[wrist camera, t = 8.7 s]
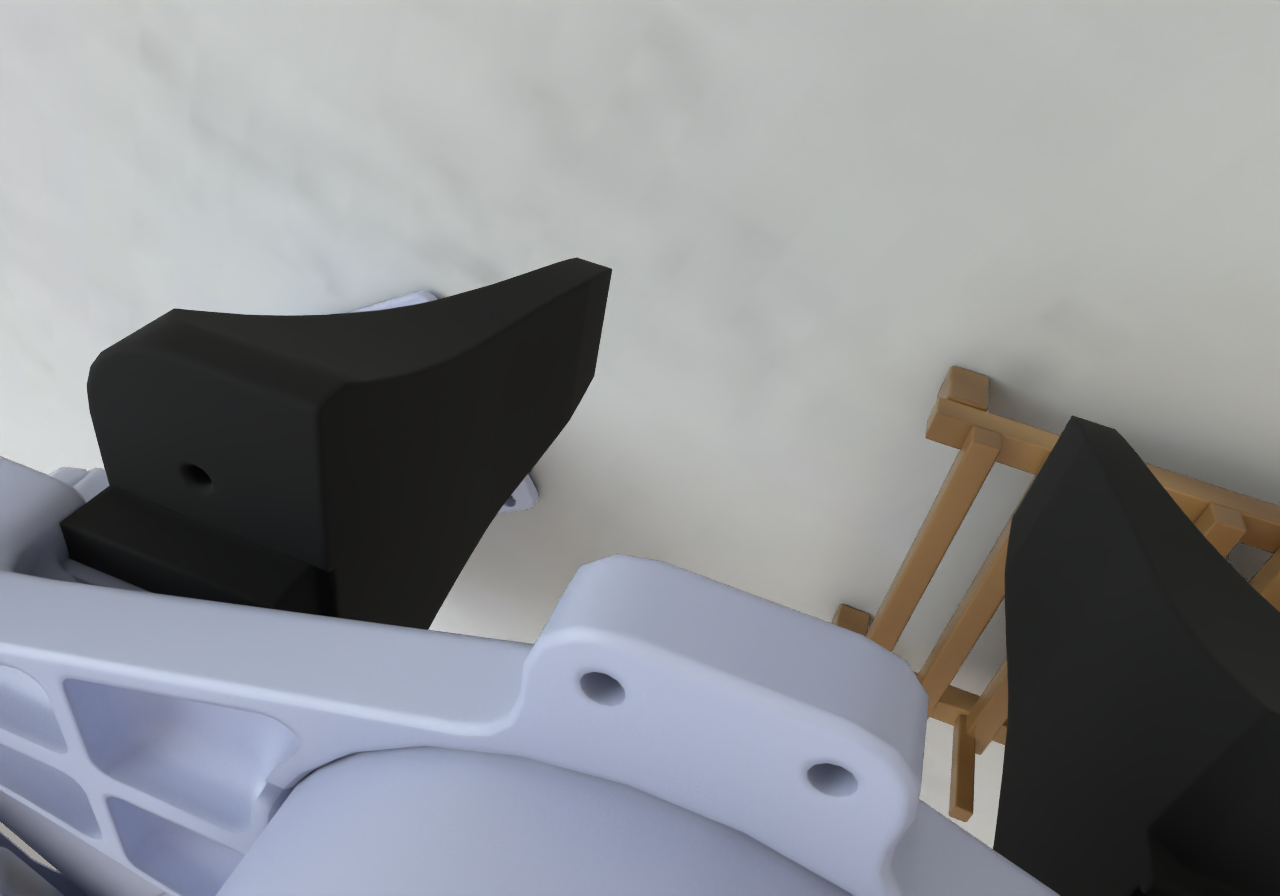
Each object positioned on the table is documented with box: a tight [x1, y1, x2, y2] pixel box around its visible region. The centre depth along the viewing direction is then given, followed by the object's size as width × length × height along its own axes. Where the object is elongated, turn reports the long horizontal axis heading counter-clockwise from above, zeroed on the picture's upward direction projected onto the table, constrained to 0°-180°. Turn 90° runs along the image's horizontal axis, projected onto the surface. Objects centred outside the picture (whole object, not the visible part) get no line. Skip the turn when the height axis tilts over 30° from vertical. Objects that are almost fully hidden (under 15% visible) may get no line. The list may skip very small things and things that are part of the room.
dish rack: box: [831, 366, 1280, 822], centre depth 23 cm, size 15×10×6 cm
